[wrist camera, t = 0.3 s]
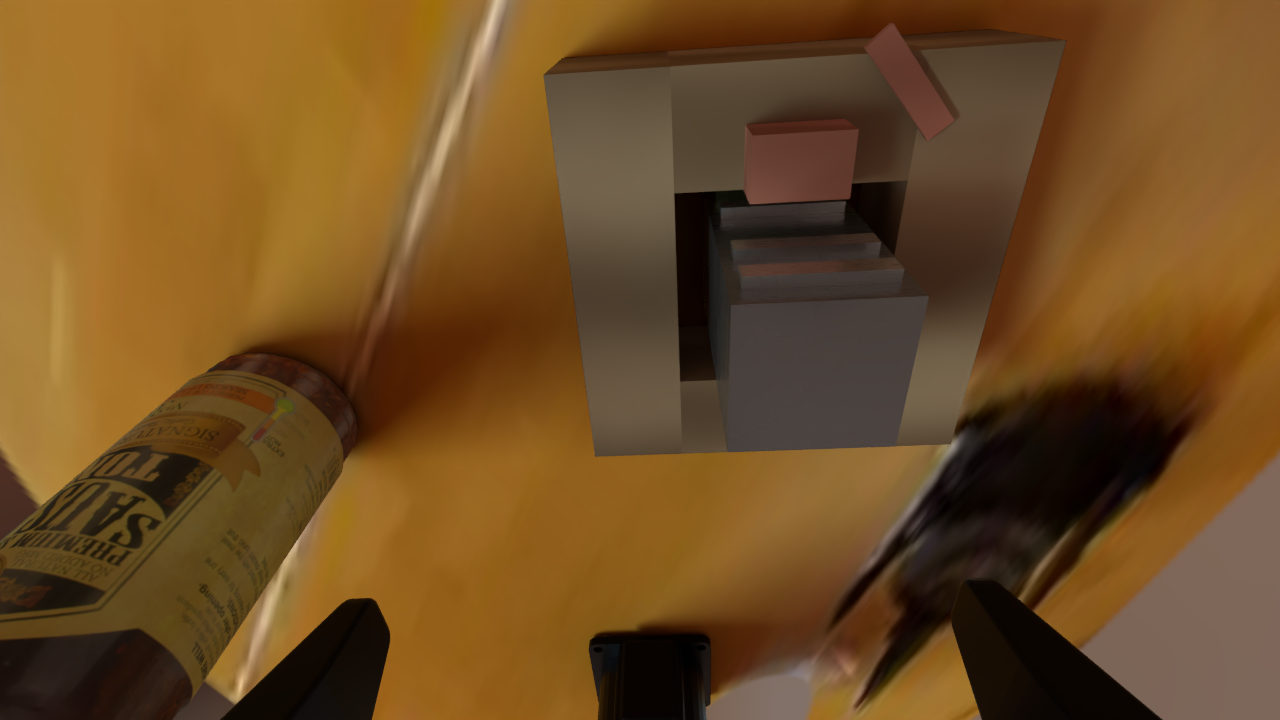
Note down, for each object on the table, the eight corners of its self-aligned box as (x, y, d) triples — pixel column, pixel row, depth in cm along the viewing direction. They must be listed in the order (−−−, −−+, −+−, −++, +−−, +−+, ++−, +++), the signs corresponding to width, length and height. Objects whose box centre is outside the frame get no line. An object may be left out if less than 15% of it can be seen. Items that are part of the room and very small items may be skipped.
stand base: (912, 384, 23) (966, 468, 19) (602, 396, 23) (592, 481, 20) (997, 3, 16) (1110, 12, 12) (559, 34, 17) (530, 52, 13)
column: (816, 303, 21) (893, 455, 14) (703, 308, 21) (727, 461, 15) (830, 172, 19) (932, 282, 12) (702, 179, 19) (731, 292, 12)
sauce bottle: (304, 323, 22) (-813, 1431, 5) (394, 446, 25) (-120, 1379, 8) (163, 368, 23) (-1108, 1384, 6) (265, 480, 26) (-408, 1357, 10)
